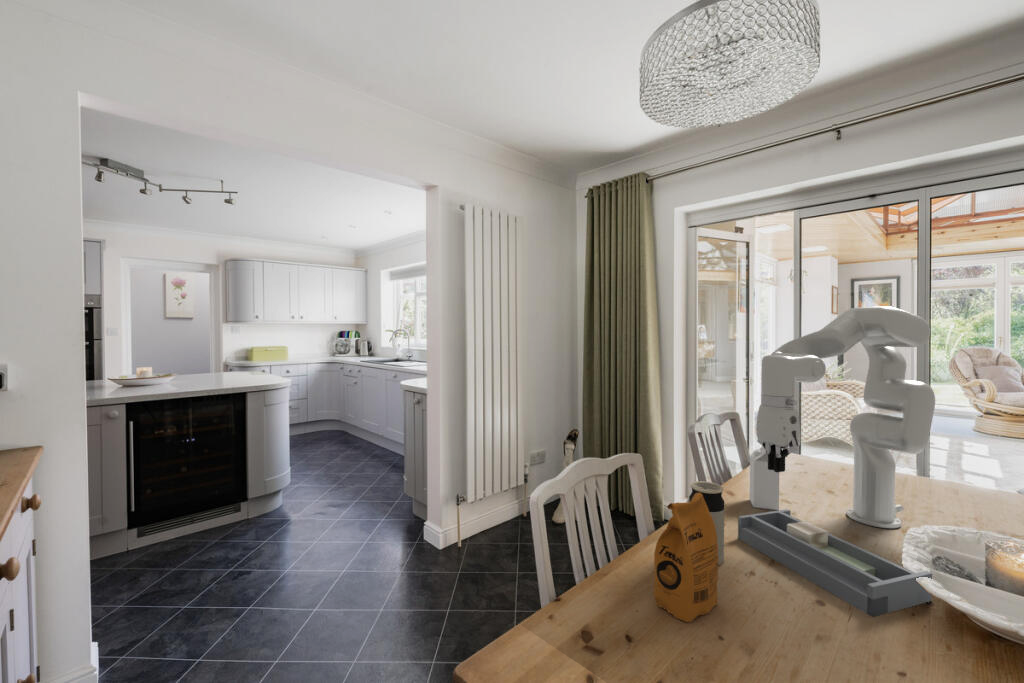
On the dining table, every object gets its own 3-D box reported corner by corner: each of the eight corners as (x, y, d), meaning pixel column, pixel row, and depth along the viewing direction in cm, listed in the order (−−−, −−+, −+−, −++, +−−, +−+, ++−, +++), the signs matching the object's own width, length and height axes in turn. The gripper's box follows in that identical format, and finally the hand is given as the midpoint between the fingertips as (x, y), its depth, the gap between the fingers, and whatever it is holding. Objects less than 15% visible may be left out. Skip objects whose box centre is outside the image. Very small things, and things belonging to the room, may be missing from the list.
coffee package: (645, 601, 92) (646, 497, 91) (683, 583, 98) (684, 485, 98) (687, 629, 83) (688, 514, 83) (725, 606, 90) (726, 500, 89)
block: (804, 536, 113) (805, 521, 113) (827, 547, 107) (827, 531, 107) (786, 539, 111) (786, 524, 111) (808, 551, 105) (809, 534, 105)
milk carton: (773, 502, 144) (774, 444, 143) (779, 510, 137) (779, 450, 137) (749, 499, 146) (750, 443, 146) (753, 507, 139) (754, 448, 139)
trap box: (787, 530, 124) (787, 509, 124) (931, 601, 91) (932, 573, 91) (738, 538, 119) (738, 516, 119) (872, 617, 86) (872, 587, 86)
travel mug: (696, 546, 115) (697, 478, 114) (728, 558, 109) (729, 486, 108) (683, 558, 109) (683, 486, 109) (716, 570, 103) (717, 494, 103)
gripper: (815, 405, 110) (814, 478, 111) (764, 396, 125) (763, 461, 126) (792, 407, 108) (791, 481, 109) (742, 398, 123) (742, 463, 124)
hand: (776, 470), depth 117 cm, fingers closed
